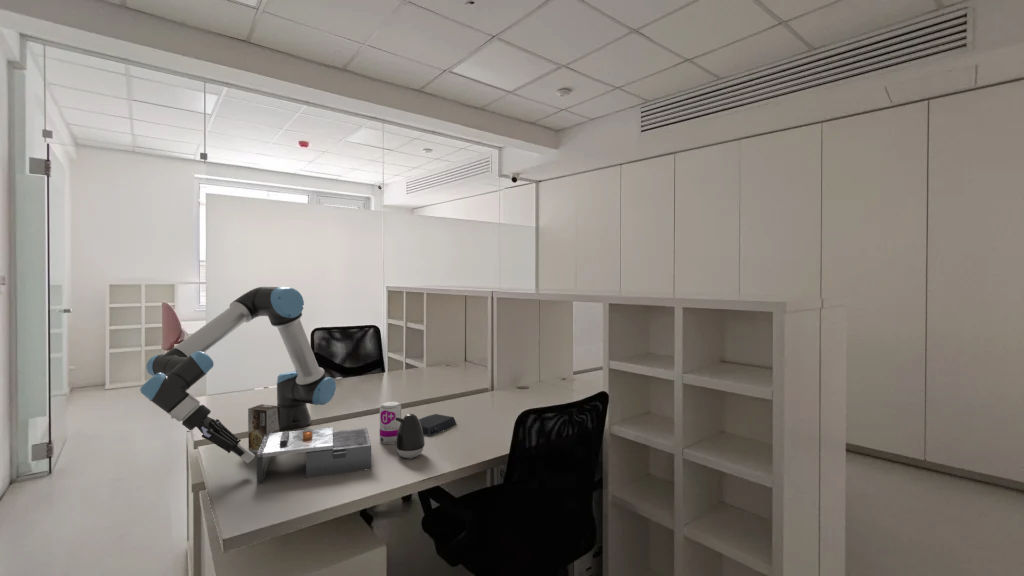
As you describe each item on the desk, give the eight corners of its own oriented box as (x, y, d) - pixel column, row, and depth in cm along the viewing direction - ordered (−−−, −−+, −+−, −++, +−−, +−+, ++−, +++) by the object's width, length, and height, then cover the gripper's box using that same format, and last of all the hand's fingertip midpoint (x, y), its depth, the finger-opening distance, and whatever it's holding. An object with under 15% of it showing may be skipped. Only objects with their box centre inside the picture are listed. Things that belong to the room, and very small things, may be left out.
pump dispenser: (393, 452, 171) (393, 411, 171) (421, 449, 175) (421, 408, 174) (397, 462, 161) (397, 419, 161) (427, 458, 165) (427, 416, 165)
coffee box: (280, 448, 174) (280, 405, 174) (266, 454, 168) (266, 410, 168) (262, 445, 177) (262, 403, 177) (247, 451, 171) (247, 407, 170)
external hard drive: (405, 432, 195) (405, 423, 195) (434, 420, 212) (434, 412, 212) (430, 438, 189) (430, 428, 189) (458, 425, 206) (458, 416, 206)
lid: (256, 482, 143) (256, 447, 143) (265, 459, 162) (265, 428, 162) (332, 472, 151) (332, 439, 151) (332, 451, 170) (332, 421, 170)
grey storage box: (305, 480, 147) (305, 454, 146) (308, 453, 169) (309, 431, 169) (371, 471, 154) (371, 447, 154) (366, 447, 176) (366, 425, 176)
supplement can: (395, 445, 178) (395, 406, 178) (375, 444, 180) (375, 405, 179) (404, 438, 186) (404, 401, 186) (385, 437, 188) (385, 400, 187)
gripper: (187, 416, 150) (245, 461, 156) (174, 428, 138) (238, 476, 144) (206, 398, 152) (263, 443, 158) (195, 409, 140) (257, 457, 146)
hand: (251, 459), depth 151 cm, fingers closed
